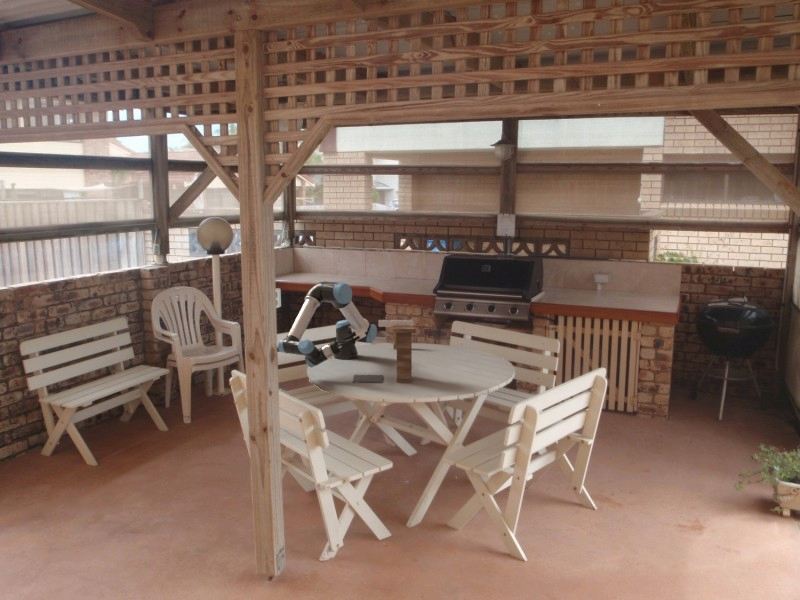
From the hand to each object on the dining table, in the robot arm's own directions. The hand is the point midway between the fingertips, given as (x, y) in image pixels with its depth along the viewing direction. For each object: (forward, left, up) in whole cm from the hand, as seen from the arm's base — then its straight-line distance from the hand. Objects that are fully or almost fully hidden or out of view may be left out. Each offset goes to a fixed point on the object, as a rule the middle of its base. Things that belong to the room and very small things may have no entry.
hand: (365, 331), depth 377 cm
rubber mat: (0, +1, -27) cm, 27 cm away
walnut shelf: (0, +21, -27) cm, 34 cm away
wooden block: (-74, +19, -27) cm, 81 cm away
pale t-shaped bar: (0, +17, +3) cm, 17 cm away
